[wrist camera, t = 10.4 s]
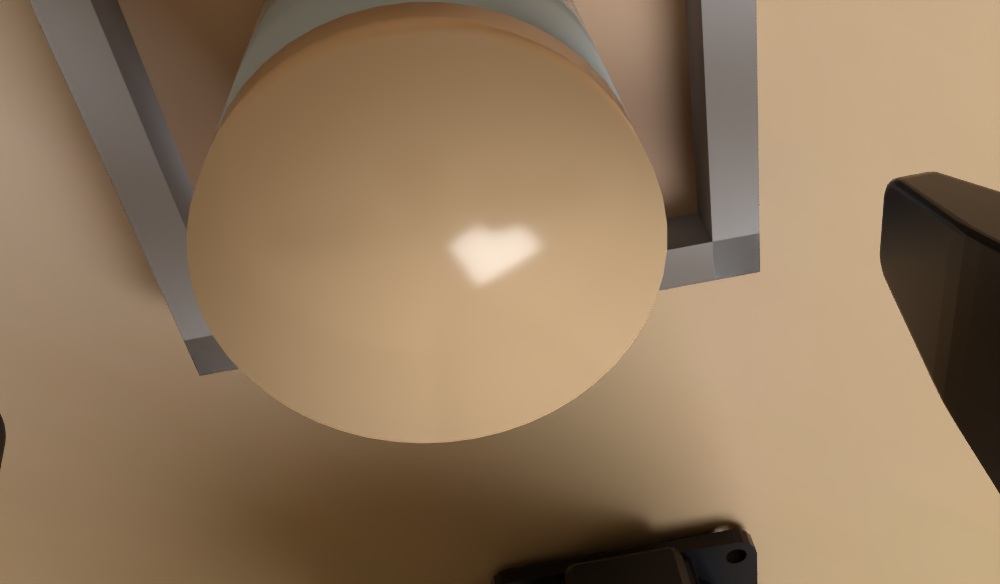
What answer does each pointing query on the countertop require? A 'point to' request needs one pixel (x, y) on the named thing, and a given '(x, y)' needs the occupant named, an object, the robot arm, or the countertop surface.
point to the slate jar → (425, 215)
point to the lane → (222, 44)
